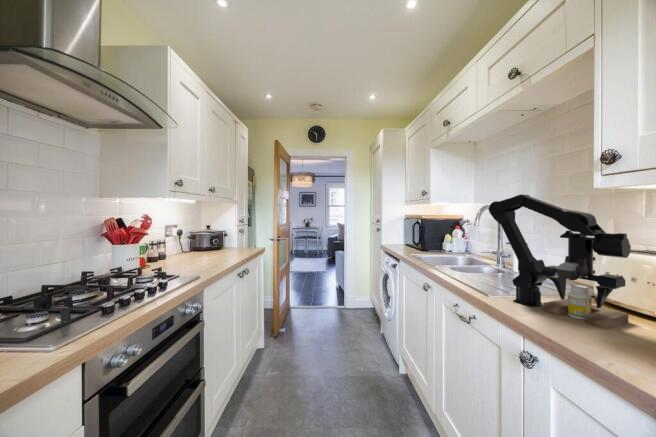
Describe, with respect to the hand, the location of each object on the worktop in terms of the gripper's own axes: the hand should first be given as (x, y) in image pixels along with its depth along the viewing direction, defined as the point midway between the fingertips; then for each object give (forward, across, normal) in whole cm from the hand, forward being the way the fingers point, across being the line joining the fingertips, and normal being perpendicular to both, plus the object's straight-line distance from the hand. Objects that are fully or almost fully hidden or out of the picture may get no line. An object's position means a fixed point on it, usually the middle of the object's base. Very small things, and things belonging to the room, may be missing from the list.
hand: (579, 303), depth 86 cm
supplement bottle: (+4, 0, 0) cm, 5 cm away
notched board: (+4, 0, +2) cm, 5 cm away
